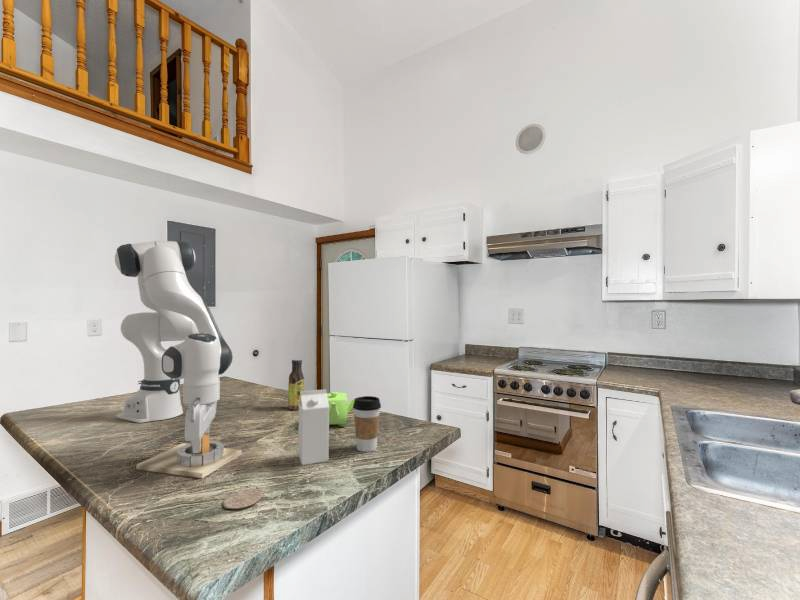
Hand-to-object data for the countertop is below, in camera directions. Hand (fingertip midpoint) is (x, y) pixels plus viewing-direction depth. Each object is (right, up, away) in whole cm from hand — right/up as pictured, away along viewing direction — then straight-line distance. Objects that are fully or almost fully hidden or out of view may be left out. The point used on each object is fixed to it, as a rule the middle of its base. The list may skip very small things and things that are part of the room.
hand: (201, 445), depth 101 cm
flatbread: (+19, -5, -19) cm, 27 cm away
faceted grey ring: (0, -3, 0) cm, 3 cm away
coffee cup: (+44, -5, +11) cm, 45 cm away
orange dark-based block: (0, -3, 0) cm, 3 cm away
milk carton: (+30, -5, +3) cm, 30 cm away
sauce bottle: (+11, -5, +52) cm, 53 cm away
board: (-3, -5, +1) cm, 5 cm away
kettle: (+29, -5, +33) cm, 45 cm away
